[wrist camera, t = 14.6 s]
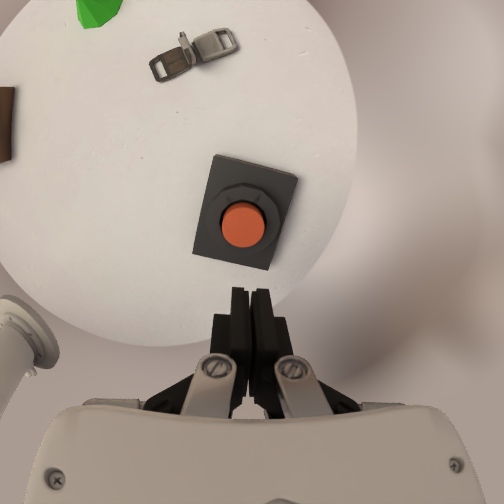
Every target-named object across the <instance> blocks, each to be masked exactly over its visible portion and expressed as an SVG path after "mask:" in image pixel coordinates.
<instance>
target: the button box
mask: <svg viewBox="0 0 504 504" xmlns="http://www.w3.org/2000/svg"><path fill="white" fill-rule="evenodd" d="M297 180H298V178H297V177H296V176H295V175H293V174H290V173H287V172H283V171H280V170H276V169H273V168H269V167H265V166H262V165H258V164H254V163H250V162H246V161H242V160H238V159H234V158H230V157H226V156H222V155H217V154H216V155H215V156H214V157H213V161H212V165H211V169H210V173H209V178H208V182H207V186H206V190H205V195H204V199H203V204H202V208H201V213H200V217H199V222H198V227H197V232H196V237H195V242H194V247H193V252H192V254H195V255H199V256H204V257H208V258H213V259H217V260H222V261H226V262H231V263H235V264H240V265H244V266H249V267H253V268H258V269H262V270H267V271H268V269H269V266H270V263H271V260H272V257H273V254H274V251H275V248H276V245H277V242H278V239H279V236H280V233H281V230H282V227H283V224H284V221H285V218H286V215H287V211H288V208H289V205H290V202H291V199H292V196H293V193H294V189H295V186H296V183H297ZM242 202H244V203H250V204H252V205H254V206H255V207H257V208H258V209H259V211H260V212H261V214H262V217H263V221H264V233H263V236H262V238H261V239H260V240H259V241H258V242H257V243H256V244H254V245H252V246H249V247H237V246H234V245H232V244H230V243H229V242H228V241H227V240H226V239H225V237H224V235H223V232H222V223H223V217H224V214H225V212H226V211H227V209H228V208H229V207H231V206H232V205H234V204H237V203H242Z"/></svg>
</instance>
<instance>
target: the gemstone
mask: <svg viewBox="0 0 504 504" xmlns="http://www.w3.org/2000/svg"><path fill="white" fill-rule="evenodd" d="M121 3H122V0H76V4H77V14H78V19H79V21H80V23H81V24H82V26H83V28H84V29H86V28H94V27H100V26H102V25H103V24H104V23H106V22H107V21H108V20H109V19H111V18H112V17H113V16H115V15H116V14H117V12H118V10H119V7H120V5H121Z"/></svg>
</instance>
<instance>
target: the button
mask: <svg viewBox="0 0 504 504" xmlns="http://www.w3.org/2000/svg"><path fill="white" fill-rule="evenodd" d="M222 232H223V235H224V237H225V239H226V240H227V241H228V242H229V243H230V244H232V245H234V246H237V247H249V246H252V245H254V244H256V243H257V242H258V241H259V240H260V239H261V238H262V236H263V233H264V221H263V217H262V214H261V212H260V211H259V209H258V208H257V207H255V206H254V205H252V204H250V203H244V202H242V203H237V204H234V205H232V206H231V207H229V208H228V209H227V211H226V212H225V214H224V217H223V223H222Z"/></svg>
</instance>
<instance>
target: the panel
mask: <svg viewBox="0 0 504 504" xmlns="http://www.w3.org/2000/svg"><path fill="white" fill-rule="evenodd" d="M13 93H14V87H0V163H1V162H5V161H8V160H11V116H12V103H13Z"/></svg>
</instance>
